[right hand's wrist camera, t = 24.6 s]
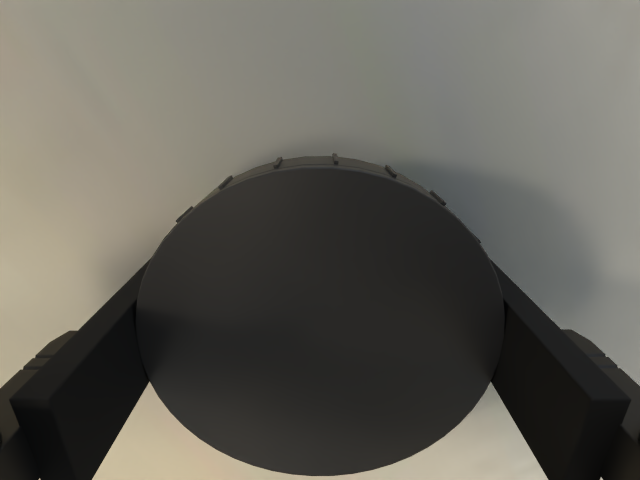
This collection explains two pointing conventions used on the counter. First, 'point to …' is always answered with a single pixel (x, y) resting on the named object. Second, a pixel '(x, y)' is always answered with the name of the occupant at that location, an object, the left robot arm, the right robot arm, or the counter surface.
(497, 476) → the counter surface
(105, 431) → the right robot arm
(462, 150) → the counter surface
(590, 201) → the counter surface
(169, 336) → the lid
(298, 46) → the counter surface
